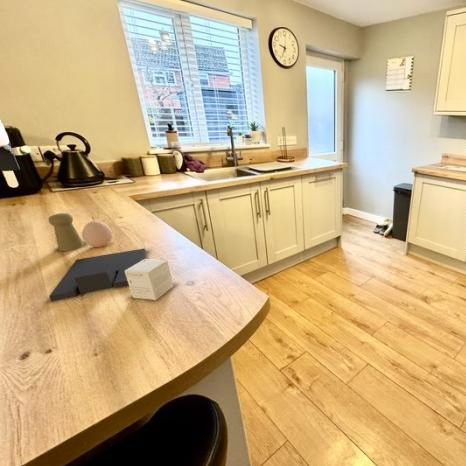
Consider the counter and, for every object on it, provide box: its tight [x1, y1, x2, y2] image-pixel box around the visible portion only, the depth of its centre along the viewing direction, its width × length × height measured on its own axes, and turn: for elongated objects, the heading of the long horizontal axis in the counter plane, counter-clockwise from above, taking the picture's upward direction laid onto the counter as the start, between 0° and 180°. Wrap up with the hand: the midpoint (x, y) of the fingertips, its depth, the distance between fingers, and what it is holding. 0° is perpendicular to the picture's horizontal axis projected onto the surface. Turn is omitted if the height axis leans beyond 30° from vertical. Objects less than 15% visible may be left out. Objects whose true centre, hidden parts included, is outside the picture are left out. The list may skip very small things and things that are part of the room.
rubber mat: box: [49, 248, 147, 302], centre depth 76 cm, size 16×20×2 cm
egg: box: [81, 220, 114, 248], centre depth 90 cm, size 7×7×8 cm
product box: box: [125, 258, 174, 301], centre depth 67 cm, size 6×6×7 cm
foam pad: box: [74, 262, 117, 295], centre depth 70 cm, size 6×6×4 cm
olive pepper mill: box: [48, 212, 85, 252], centre depth 89 cm, size 6×6×11 cm
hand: (0, 174), depth 66 cm, fingers open, 9 cm apart
